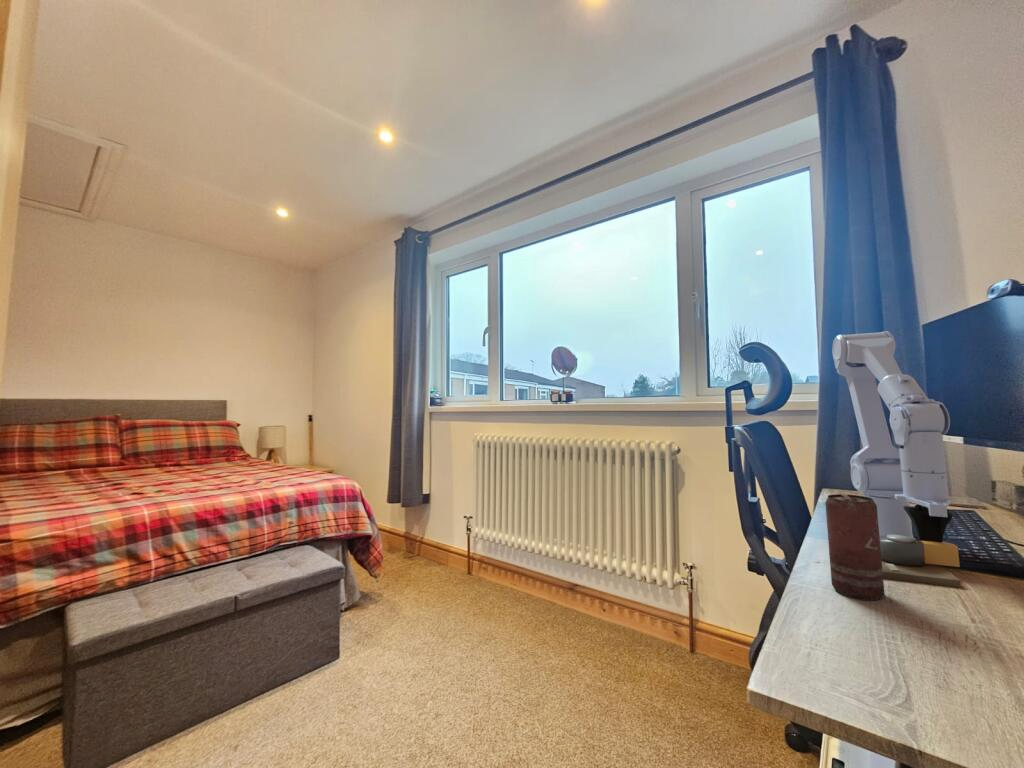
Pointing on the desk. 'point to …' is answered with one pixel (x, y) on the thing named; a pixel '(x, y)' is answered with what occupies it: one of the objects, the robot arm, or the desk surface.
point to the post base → (920, 573)
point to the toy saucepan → (917, 551)
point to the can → (854, 546)
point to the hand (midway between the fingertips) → (930, 550)
